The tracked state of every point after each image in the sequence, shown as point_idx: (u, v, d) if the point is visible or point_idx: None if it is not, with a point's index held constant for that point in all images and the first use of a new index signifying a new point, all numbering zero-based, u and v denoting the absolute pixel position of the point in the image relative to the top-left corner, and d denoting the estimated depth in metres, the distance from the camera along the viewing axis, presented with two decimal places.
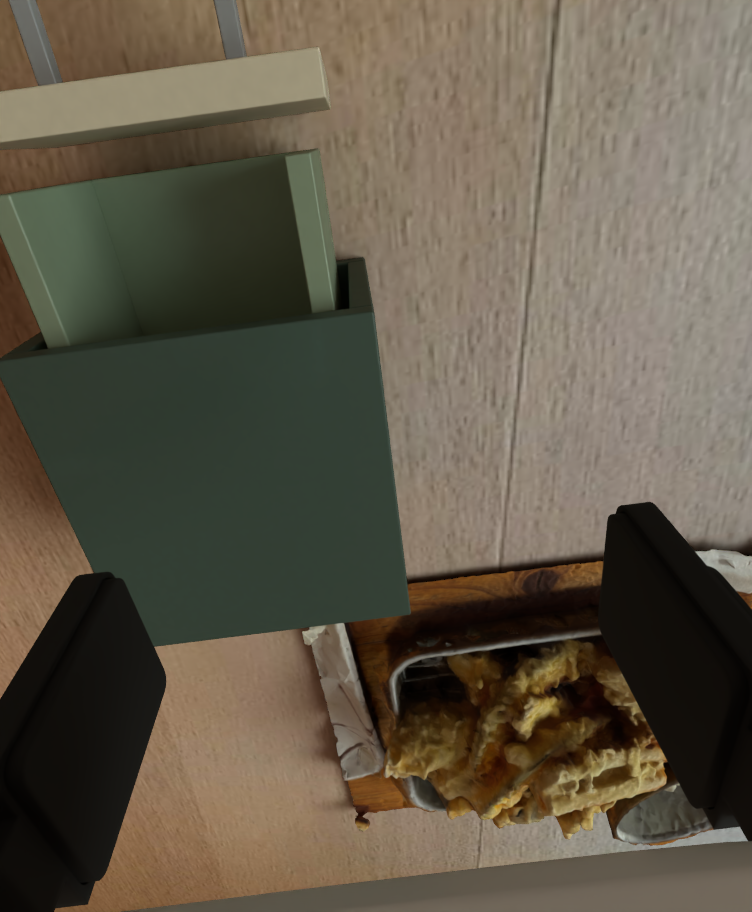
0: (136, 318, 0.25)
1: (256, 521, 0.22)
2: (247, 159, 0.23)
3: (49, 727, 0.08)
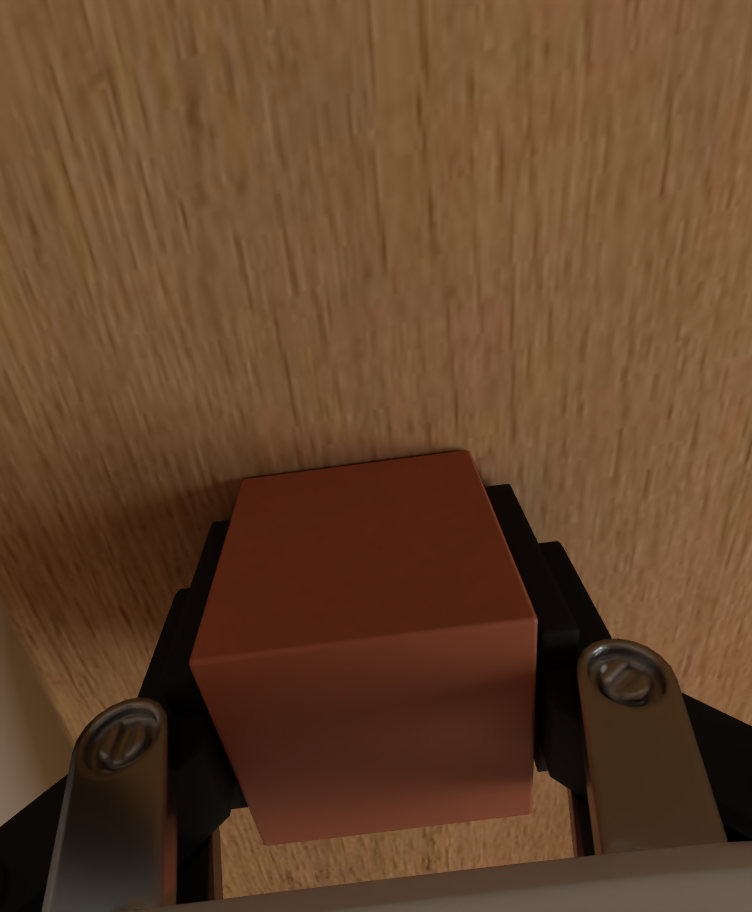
0: None
1: None
2: None
3: None
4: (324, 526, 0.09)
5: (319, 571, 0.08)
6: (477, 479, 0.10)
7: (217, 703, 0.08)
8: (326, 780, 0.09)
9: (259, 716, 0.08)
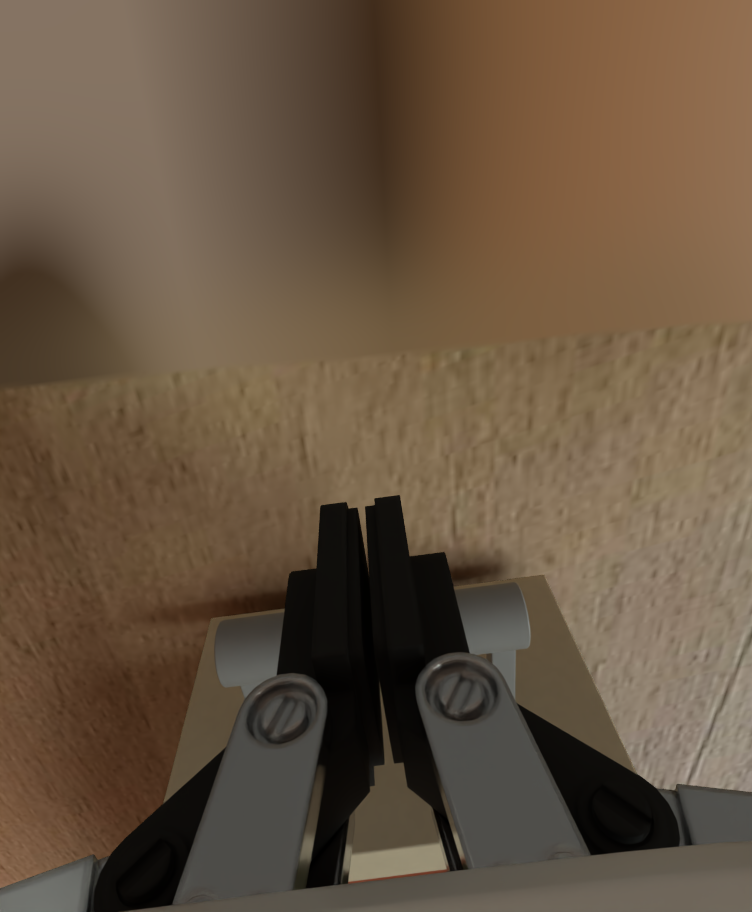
0: None
1: None
2: None
3: (362, 620, 0.09)
4: None
5: None
6: None
7: None
8: None
9: None
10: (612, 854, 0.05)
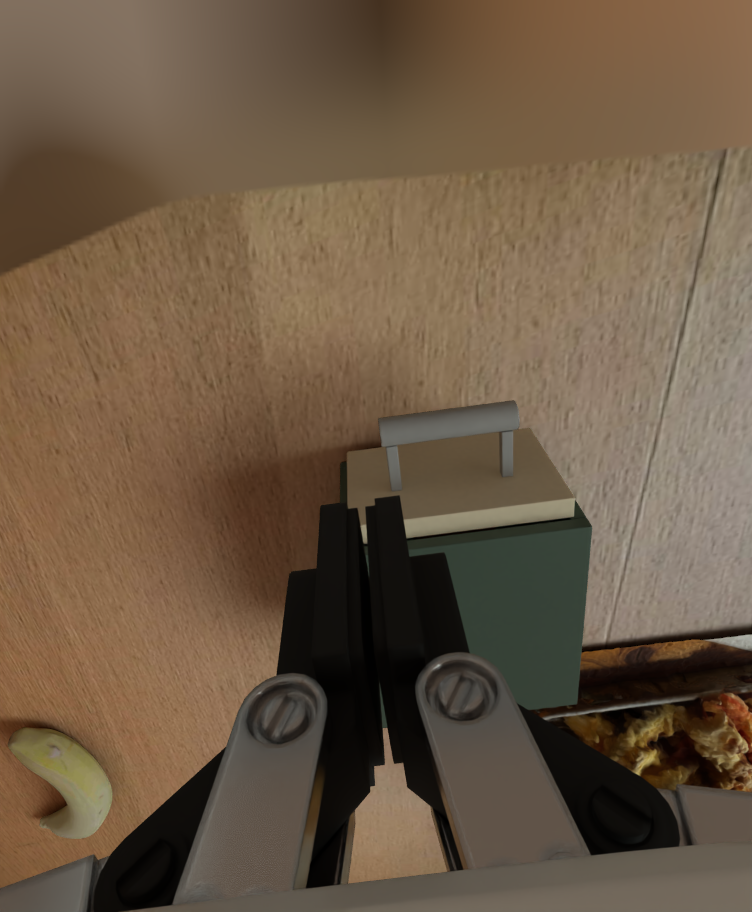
0: None
1: (484, 647, 0.32)
2: None
3: (363, 621, 0.09)
4: None
5: None
6: None
7: None
8: None
9: None
10: (612, 854, 0.05)
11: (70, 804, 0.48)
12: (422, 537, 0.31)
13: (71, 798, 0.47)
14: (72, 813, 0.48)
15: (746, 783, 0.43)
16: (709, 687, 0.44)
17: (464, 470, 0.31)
